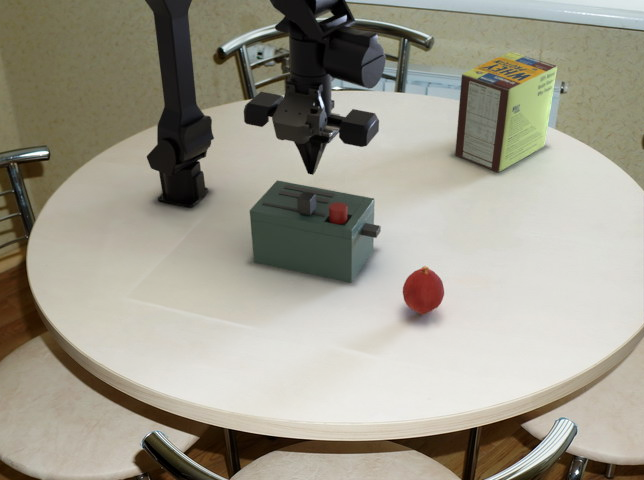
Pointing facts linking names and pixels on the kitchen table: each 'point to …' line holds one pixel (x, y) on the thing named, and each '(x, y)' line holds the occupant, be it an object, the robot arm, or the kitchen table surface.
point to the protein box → (504, 110)
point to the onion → (423, 290)
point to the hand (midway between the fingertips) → (311, 173)
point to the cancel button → (338, 213)
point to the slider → (306, 203)
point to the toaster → (312, 232)
